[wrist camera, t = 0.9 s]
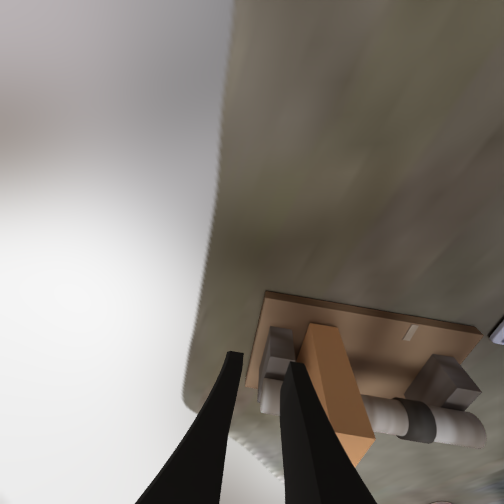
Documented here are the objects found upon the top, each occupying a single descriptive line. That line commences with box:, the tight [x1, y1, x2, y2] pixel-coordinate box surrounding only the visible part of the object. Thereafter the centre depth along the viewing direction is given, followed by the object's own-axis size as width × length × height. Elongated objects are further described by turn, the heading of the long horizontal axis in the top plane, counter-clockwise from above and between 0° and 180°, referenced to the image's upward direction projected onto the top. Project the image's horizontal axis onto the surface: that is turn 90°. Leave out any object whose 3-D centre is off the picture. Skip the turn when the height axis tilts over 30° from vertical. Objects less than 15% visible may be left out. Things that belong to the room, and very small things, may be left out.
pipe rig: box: [245, 291, 487, 449], centre depth 21 cm, size 19×12×7 cm, turn 81°
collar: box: [296, 323, 376, 467], centre depth 19 cm, size 2×9×9 cm, turn 171°
